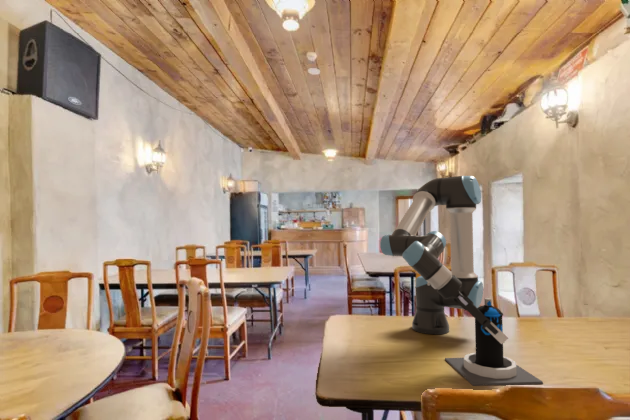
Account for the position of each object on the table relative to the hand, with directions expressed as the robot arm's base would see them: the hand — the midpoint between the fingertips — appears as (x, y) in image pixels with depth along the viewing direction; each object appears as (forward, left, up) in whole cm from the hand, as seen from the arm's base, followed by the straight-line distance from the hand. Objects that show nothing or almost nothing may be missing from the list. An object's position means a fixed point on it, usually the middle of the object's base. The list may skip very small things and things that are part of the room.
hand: (500, 336), depth 114 cm
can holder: (-3, -1, -11) cm, 11 cm away
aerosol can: (-3, -1, -9) cm, 9 cm away
